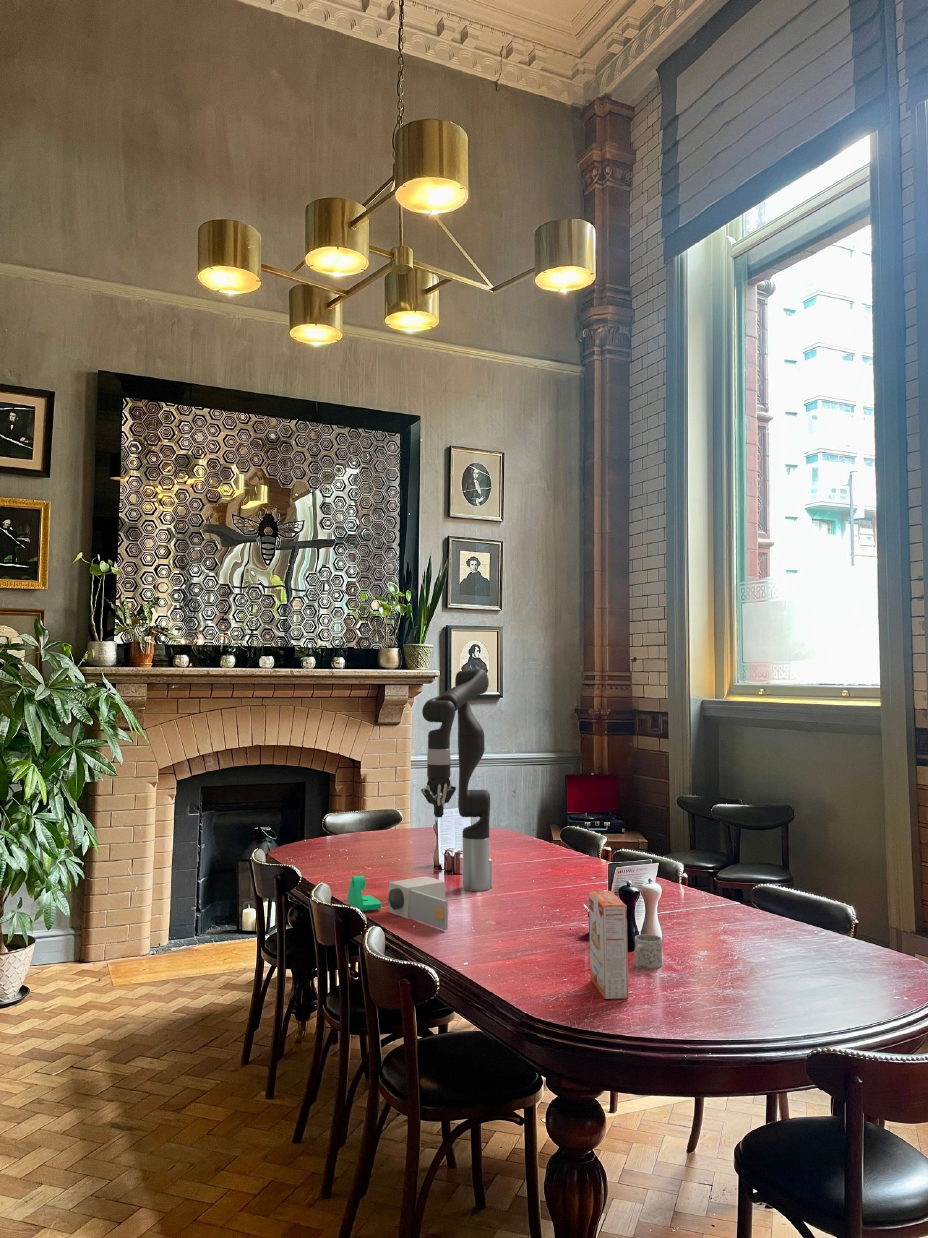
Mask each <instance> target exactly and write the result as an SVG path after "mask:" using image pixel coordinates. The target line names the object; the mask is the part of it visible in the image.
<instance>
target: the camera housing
mask: <svg viewBox="0 0 928 1238" xmlns="http://www.w3.org/2000/svg"><path fill="white" fill-rule="evenodd" d="M409 890H415V891H418V892H421V893H424V894H427V895H431V896H434V897H437V898H440V899H443V900H446V881H444V880H441V879H437V878H434V877H430V876H426V875H425V876H420V877H412V878H407V879H400V880H396V881H395V880H394V881H389V882H388V912H389V913H391V914H393V915H396V916H399V917H402V918H405V919H406V920H408V919H410V918H409Z"/></svg>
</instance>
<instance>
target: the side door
mask: <svg viewBox="0 0 928 1238" xmlns="http://www.w3.org/2000/svg"><path fill="white" fill-rule="evenodd" d="M448 904H449V901H448V900H446V899H445V900H443V899H440V898H437V897H434V896H431V895H427V894H424V893H421V892H418V891H415V890H409V919H412V920H415V921H417V922H420V923H424V924H426V925H429V926H432V927H434V928H436V929H440V930H443V931H447V930H449V925H448V924H449V923H448V921H449V919H448V918H449V917H448V916H449V915H448V914H449V911H448V910H449V907H448V906H449V905H448Z"/></svg>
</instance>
